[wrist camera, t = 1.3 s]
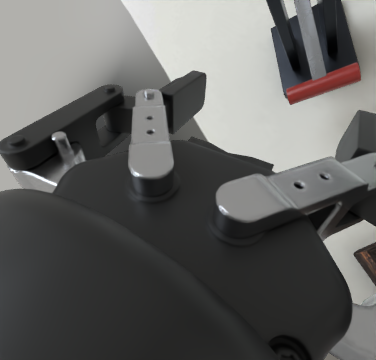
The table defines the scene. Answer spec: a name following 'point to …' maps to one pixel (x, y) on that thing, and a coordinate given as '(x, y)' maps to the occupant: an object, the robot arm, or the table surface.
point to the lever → (317, 62)
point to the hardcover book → (368, 260)
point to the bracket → (294, 46)
